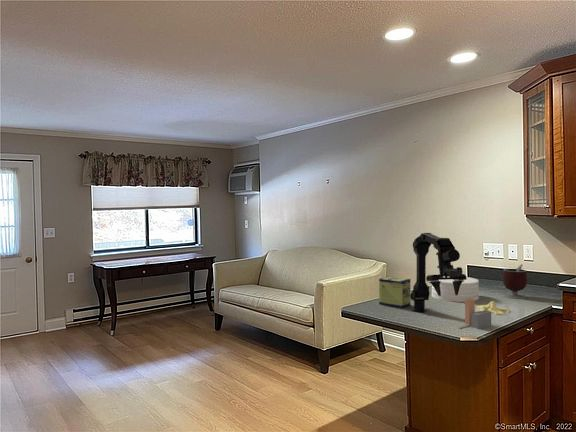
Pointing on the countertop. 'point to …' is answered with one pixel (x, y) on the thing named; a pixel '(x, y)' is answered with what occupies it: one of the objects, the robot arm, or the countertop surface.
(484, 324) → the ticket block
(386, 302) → the protein box
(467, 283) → the plate stack
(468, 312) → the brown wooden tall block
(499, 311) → the cloth
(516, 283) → the mate gourd
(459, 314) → the countertop surface
